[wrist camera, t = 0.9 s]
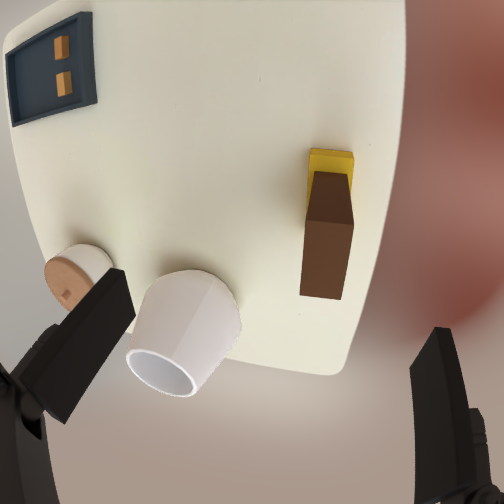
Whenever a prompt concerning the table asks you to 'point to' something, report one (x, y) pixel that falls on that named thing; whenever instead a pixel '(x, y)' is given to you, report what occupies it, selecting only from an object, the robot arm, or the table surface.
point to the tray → (51, 71)
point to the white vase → (183, 331)
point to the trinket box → (76, 272)
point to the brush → (327, 224)
